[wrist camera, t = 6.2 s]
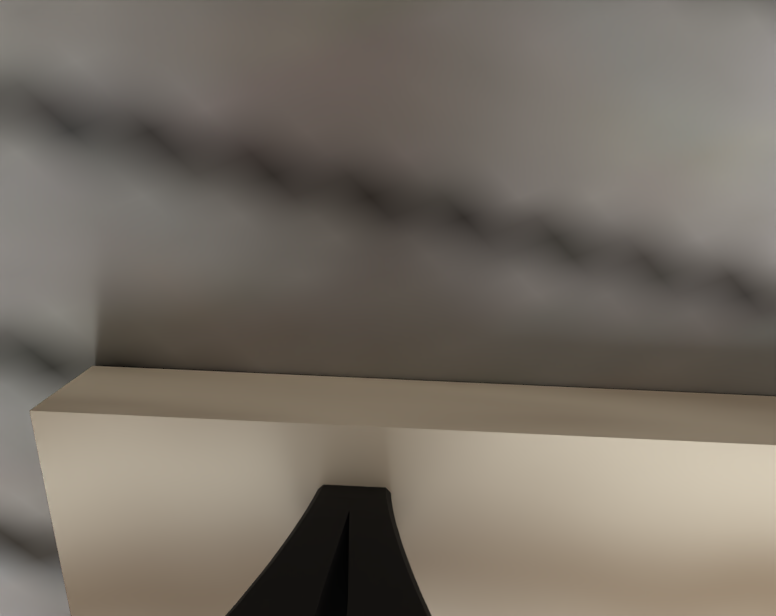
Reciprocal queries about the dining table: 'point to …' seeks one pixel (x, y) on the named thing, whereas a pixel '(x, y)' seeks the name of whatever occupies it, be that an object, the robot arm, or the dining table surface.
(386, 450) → the maple plank
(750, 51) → the dining table surface
